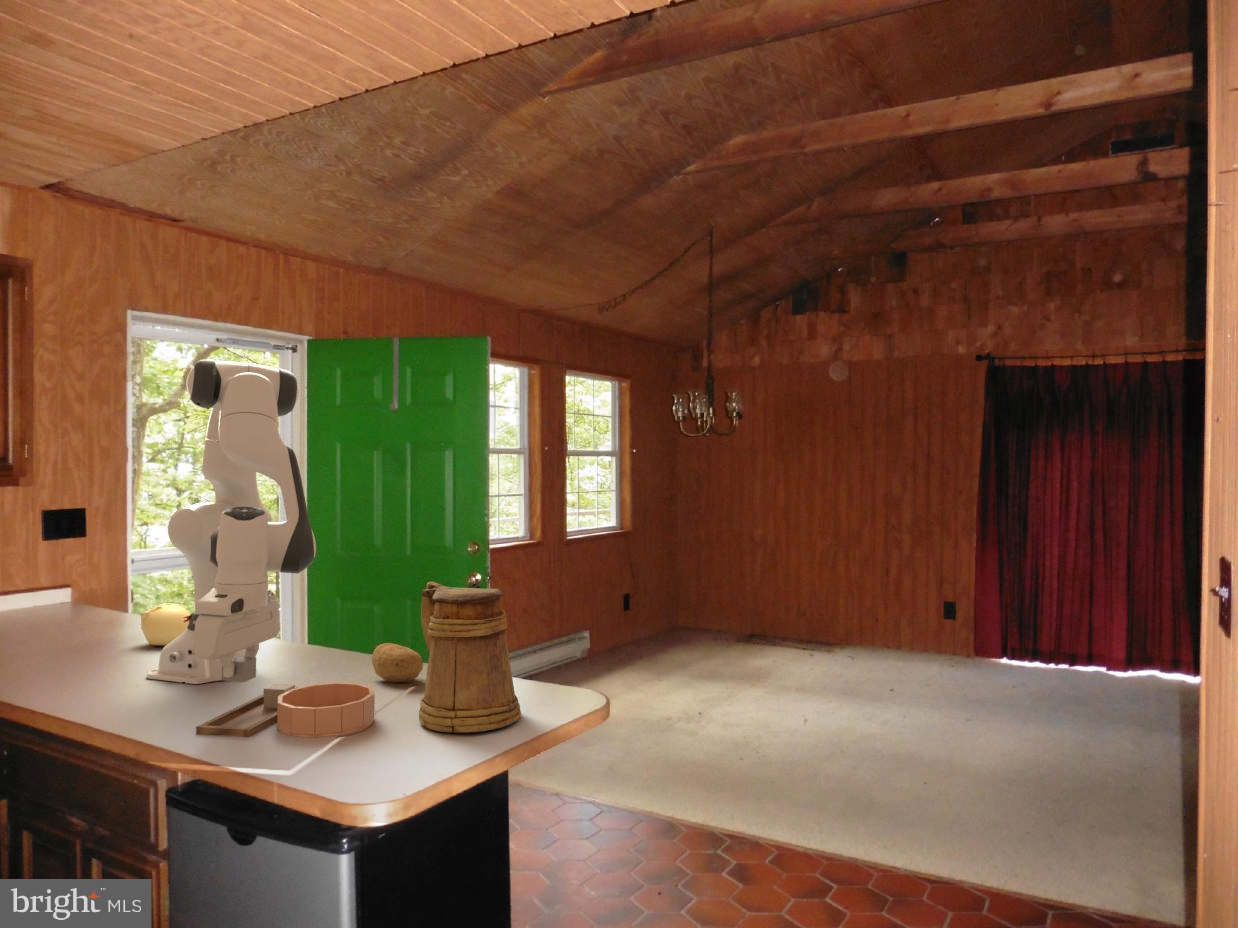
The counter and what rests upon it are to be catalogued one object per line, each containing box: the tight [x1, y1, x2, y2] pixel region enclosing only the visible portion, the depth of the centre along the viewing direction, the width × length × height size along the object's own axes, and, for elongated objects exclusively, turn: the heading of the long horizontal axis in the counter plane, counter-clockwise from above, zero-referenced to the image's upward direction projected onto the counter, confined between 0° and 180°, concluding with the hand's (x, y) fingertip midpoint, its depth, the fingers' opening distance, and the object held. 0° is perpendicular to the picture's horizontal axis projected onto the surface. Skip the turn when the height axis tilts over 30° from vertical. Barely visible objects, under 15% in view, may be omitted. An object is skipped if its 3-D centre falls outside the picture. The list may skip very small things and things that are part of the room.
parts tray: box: [195, 693, 277, 738], centre depth 156 cm, size 10×26×2 cm, turn 172°
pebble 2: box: [263, 683, 296, 708], centre depth 161 cm, size 4×4×4 cm
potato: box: [371, 642, 424, 684], centre depth 181 cm, size 10×14×8 cm
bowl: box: [276, 682, 376, 739], centre depth 151 cm, size 17×17×6 cm
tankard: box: [418, 581, 522, 734], centre depth 156 cm, size 18×24×25 cm
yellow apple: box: [140, 602, 192, 646], centre depth 216 cm, size 11×12×11 cm
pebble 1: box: [220, 656, 257, 683], centre depth 150 cm, size 4×4×4 cm
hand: (238, 672), depth 150 cm, fingers closed on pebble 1, 4 cm apart
